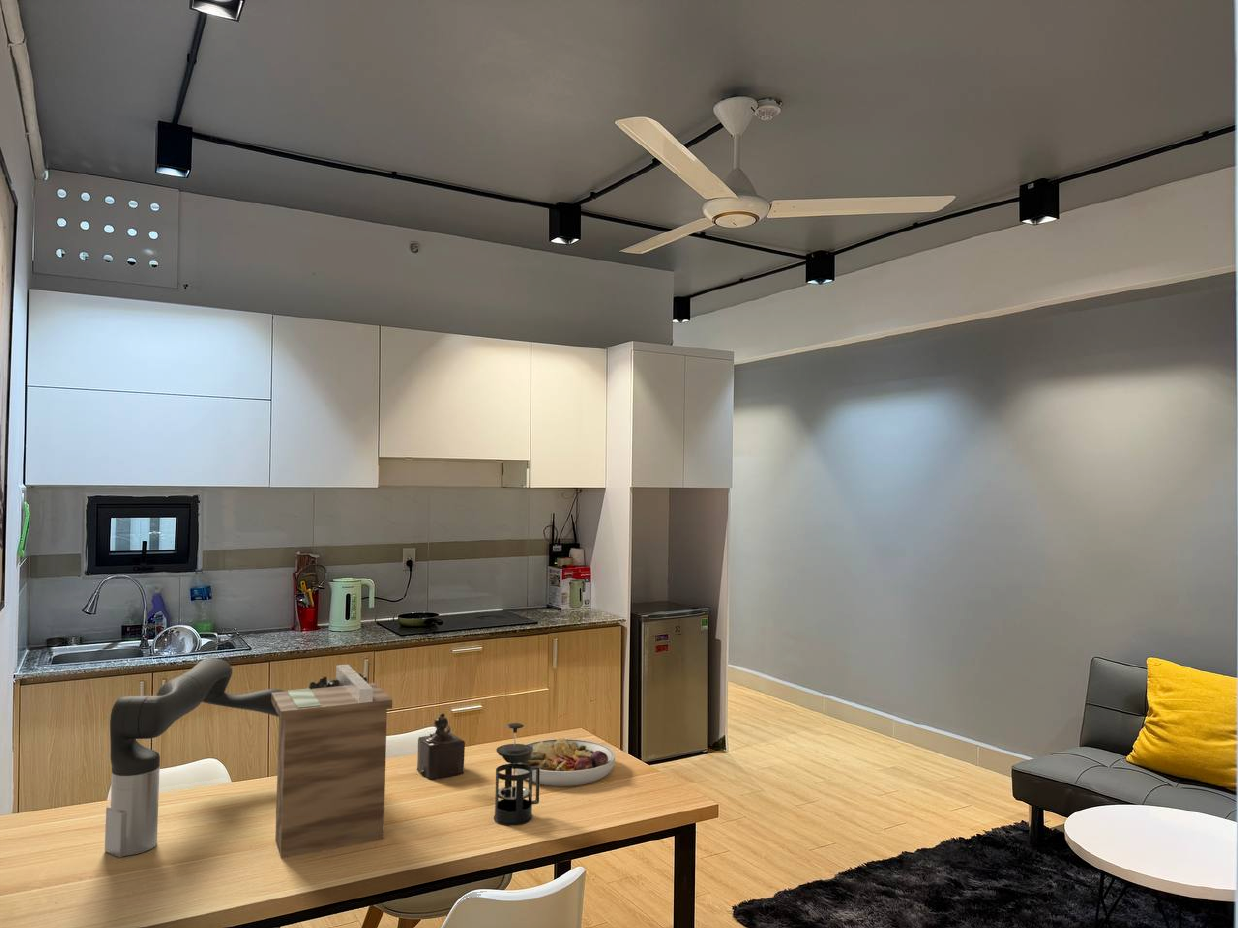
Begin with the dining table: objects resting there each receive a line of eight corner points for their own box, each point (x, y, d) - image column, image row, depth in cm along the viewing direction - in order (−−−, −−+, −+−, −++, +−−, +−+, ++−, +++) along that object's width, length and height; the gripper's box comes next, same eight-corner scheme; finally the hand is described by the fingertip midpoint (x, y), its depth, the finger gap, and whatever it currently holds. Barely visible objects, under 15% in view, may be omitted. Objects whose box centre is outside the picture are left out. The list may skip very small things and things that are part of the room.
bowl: (489, 777, 234) (490, 749, 234) (547, 749, 260) (548, 723, 261) (581, 797, 220) (582, 767, 220) (632, 765, 246) (633, 738, 247)
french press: (498, 828, 198) (500, 731, 199) (486, 814, 207) (488, 721, 207) (544, 821, 203) (546, 726, 204) (531, 807, 212) (533, 716, 212)
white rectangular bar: (372, 701, 190) (372, 688, 190) (359, 702, 188) (359, 689, 188) (348, 676, 214) (348, 664, 214) (336, 677, 213) (336, 665, 213)
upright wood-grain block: (388, 839, 191) (392, 698, 192) (276, 860, 179) (281, 710, 180) (371, 812, 207) (374, 682, 208) (267, 829, 195) (271, 691, 196)
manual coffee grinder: (413, 770, 238) (415, 707, 238) (449, 763, 244) (451, 701, 245) (435, 786, 225) (436, 719, 226) (472, 779, 231) (474, 714, 232)
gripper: (303, 687, 223) (312, 666, 211) (357, 682, 230) (369, 662, 218) (304, 715, 219) (314, 695, 207) (360, 709, 226) (372, 690, 214)
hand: (342, 678), depth 212 cm, fingers open, 8 cm apart
